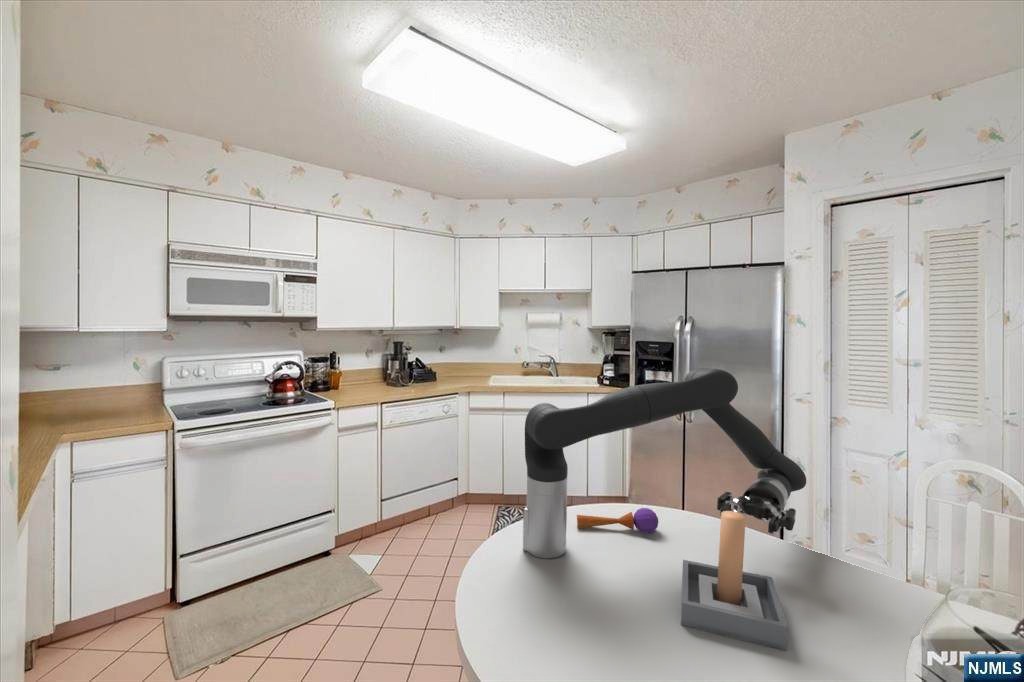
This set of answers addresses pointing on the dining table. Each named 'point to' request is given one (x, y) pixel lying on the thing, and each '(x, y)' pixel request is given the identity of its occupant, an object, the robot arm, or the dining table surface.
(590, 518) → the kendama
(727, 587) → the peg
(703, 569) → the box
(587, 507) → the dining table surface
